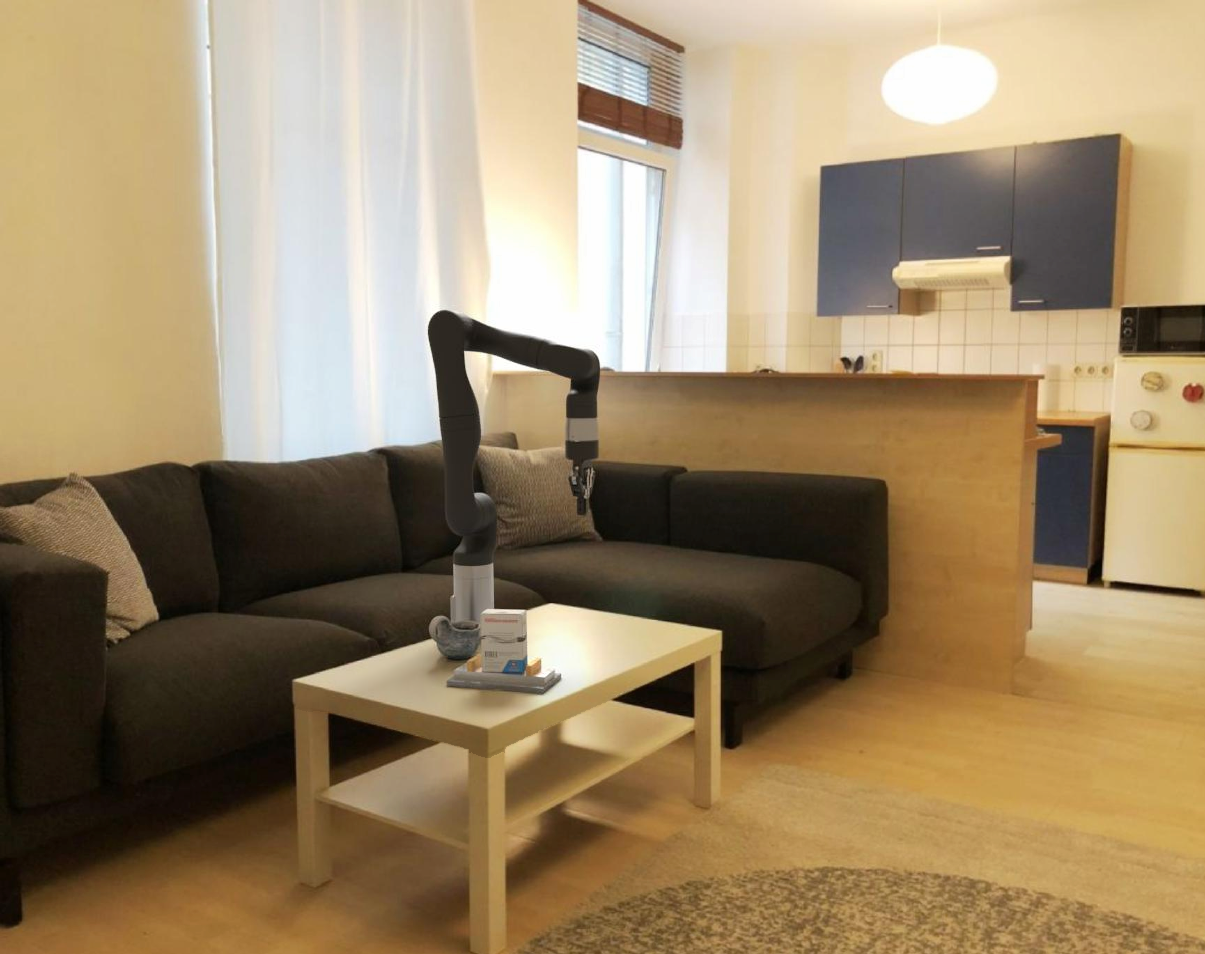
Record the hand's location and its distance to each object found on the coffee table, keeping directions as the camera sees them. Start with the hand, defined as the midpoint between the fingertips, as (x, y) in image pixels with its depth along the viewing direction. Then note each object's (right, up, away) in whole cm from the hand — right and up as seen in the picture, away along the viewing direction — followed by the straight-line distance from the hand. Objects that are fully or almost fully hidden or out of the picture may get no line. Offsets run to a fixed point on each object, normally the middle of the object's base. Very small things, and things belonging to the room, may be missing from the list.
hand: (582, 514), depth 251 cm
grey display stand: (-15, -32, -30) cm, 46 cm away
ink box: (-15, -30, -30) cm, 45 cm away
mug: (-27, -31, -12) cm, 43 cm away
